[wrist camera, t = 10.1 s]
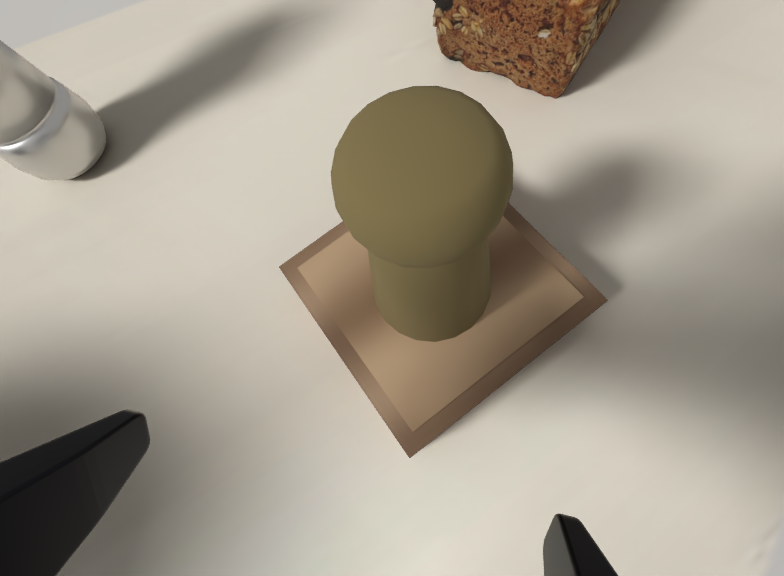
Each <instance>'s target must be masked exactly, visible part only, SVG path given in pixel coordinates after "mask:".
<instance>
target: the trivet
mask: <svg viewBox="0 0 784 576" xmlns="http://www.w3.org/2000/svg"><path fill="white" fill-rule="evenodd" d="M488 241H489V257H490V273H491V288H490V298H489V301H488V303H487V306H486V308H485V311H484V313H483V315H482V316H481V317H480V318H479V319H478V320H477V322H476V323H475V324H474V325H473V326H472V327H471V328H470V329H468V330H467V331H465V332H463V333H462V334H460V335H458V336H457V337H455V338H451V339H446V340H442V341H438V342H430V341H419V340H414V339H412V338H410V337H407V336H405V335H403V334H400V333H398V332H397V331H396V330H395V329H394V328H393V327H391V326H390V325H389V324H388V323H387V322H386V321H385V320H384V318H383V317H382V315H381V313H380V311H379V310H378V308H377V306H376V303H375V298H374V292H373V287H372V279H371V272H370V264H369V256H368V250H367V249H366V248H365V247H364V246H363V245H361V244H360V243H359V242H358V241H356V240H355V239H354V238H353V236H352V235H351V233H350V231H349V230H348V228H347V226H346V225H345V223H344V221H343V222H341V223H340V224H339V225H337V226H336V227H334V228H333V229H331V230H330V231H329V232H327V233H326V234H324V235H323V236H322V237H320V238H319V239H317V240H316V241H315V242H313V243H312V244H310V245H309V246H308V247H306V248H305V249H303V250H302V251H301V252H299V253H298V254H296V255H295V256H293V257H292V258H291V259H289V260H288V261H286V262H285V263H284V264H282V265H281V266H279V268H280V269H281V271H282V272H283V274H284V275H285V277H286V278H287V280H288V281H289V282H290V284H291V285H292V287H293V288H294V290H295V291H296V293H297V294H298V296H299V297H300V299H301V300H302V302H303V303H304V304H305V306H306V307H307V309H308V310H309V312H310V313H311V315H312V316H313V318H314V319H315V321H316V322H317V323H318V325H319V326H320V328H321V329H322V331H323V332H324V334H325V335H326V337H327V338H328V340H329V341H330V342H331V344H332V345H333V347H334V348H335V350H336V351H337V353H338V354H339V356H340V357H341V359H342V360H343V362H344V363H345V364H346V366H347V367H348V369H349V370H350V372H351V373H352V375H353V376H354V378H355V379H356V381H357V382H358V383H359V385H360V386H361V388H362V389H363V391H364V392H365V394H366V395H367V397H368V398H369V400H370V401H371V402H372V404H373V405H374V407H375V408H376V410H377V411H378V413H379V414H380V416H381V417H382V419H383V420H384V422H385V423H386V424H387V426H388V427H389V429H390V430H391V432H392V433H393V435H394V436H395V438H396V439H397V441H398V442H399V443H400V445H401V446H402V448H403V449H404V451H405V452H406V454H407V455H408V457H409V458H411V457H412V456H413V455H414V454H416V453H417V452H418V451H420V450H421V449H422V448H423V447H425V446H426V445H427V444H428V443H430V442H431V441H432V440H433V439H435V438H436V437H437V436H438V435H440V434H441V433H442V432H443V431H445V430H446V429H447V428H448V427H450V426H451V425H452V424H453V423H455V422H456V421H457V420H458V419H460V418H461V417H462V416H463V415H465V414H466V413H467V412H468V411H470V410H471V409H472V408H473V407H475V406H476V405H477V404H478V403H480V402H481V401H482V400H483V399H485V398H486V397H487V396H489V395H490V394H491V393H492V392H494V391H495V390H496V389H497V388H499V387H500V386H501V385H502V384H504V383H505V382H506V381H507V380H509V379H510V378H511V377H512V376H514V375H515V374H516V373H517V372H519V371H520V370H521V369H522V368H524V367H525V366H526V365H527V364H529V363H530V362H531V361H532V360H534V359H535V358H536V357H537V356H539V355H540V354H541V353H542V352H544V351H545V350H546V349H547V348H549V347H550V346H551V345H553V344H554V343H555V342H556V341H558V340H559V339H560V338H561V337H563V336H564V335H565V334H566V333H568V332H569V331H570V330H571V329H573V328H574V327H575V326H576V325H578V324H579V323H580V322H581V321H583V320H584V319H585V318H586V317H588V316H589V315H590V314H591V313H593V312H594V311H595V310H596V309H598V308H599V307H600V306H601V305H603V304H604V303H605V302H606V301H608V300H607V299H606V298H605V297H604V296H603V295H602V294H601V293H600V292H599V291H598V290H597V289H596V288H595V287H594V286H593V285H592V284H591V283H590V282H589V281H588V280H587V279H586V278H585V277H584V276H582V275H581V274H580V273H579V272H578V271H577V270H576V269H575V268H574V267H573V266H572V265H571V264H570V263H569V262H568V261H567V260H566V259H565V258H564V257H563V256H562V255H561V254H560V253H559V252H558V251H557V250H556V249H555V248H554V247H553V246H552V245H551V244H550V243H549V242H548V241H547V240H546V239H545V238H544V237H543V236H542V235H541V234H540V233H538V232H537V231H536V230H535V229H534V228H533V227H532V226H531V225H530V224H529V223H528V222H527V221H526V220H525V219H524V218H523V217H522V216H521V215H520V214H519V213H518V212H517V211H516V210H515V209H514V208H513V207H512V206H511V205H510V204H509V203H508V204H507V206H506V209H505V211H504V214H503V216H502V219H501V221H500V223H499V225H498V226H497V227H496V228H495V229H494V230H493V232H492V233H491V234H490V235H489V236H488Z"/></svg>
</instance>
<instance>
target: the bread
mask: <svg viewBox="0 0 784 576" xmlns="http://www.w3.org/2000/svg"><path fill="white" fill-rule="evenodd" d="M433 1H434V2H435V3H436V5H435V10H434V14H433V26H434V27H437V35H438V44H439V47H440V50H441V53H442V54H444V55H445V56H446V57H447V58H448V59H451V60H459V59H460V62H461V63H462V64H464V65H465V66H466V67H468V68H469V69H471V70H474V71H478V72H482V71H491V72H493V73H495V74H499V75H502V76H504V77H506V78H509V79H511V80H512V81H513V82H514V83H515V84H516V85H518V86H520V87H522V88H526V89H531V90H534V91H536V92H538V93H540V94H542V95H544V96H551V97H553V98H557V97H558V96H560V95H561V94H562V93H563V92H564V90H565V89H566V87H567V86H568V84H569V83H570V82H571V80H572V79H573V77H574V75H575V74H576V72H577V71H578V69H579V67H580V66H581V64H582V62H583V61H584V59H585V58H586V56H587V54H588V52H589V51H590V49H591V47H592V46H593V44H594V43H595V41H596V40H597V39H598V37H599V35H600V34H601V32H602V30H603V29H604V27H605V26H606V24H607V22H608V20H609V19H610V17H611V15H612V13H613V12H614V10H615V8H616V7H617V5H618V3H619V2H620V0H433Z"/></svg>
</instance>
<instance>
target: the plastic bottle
mask: <svg viewBox="0 0 784 576" xmlns="http://www.w3.org/2000/svg"><path fill="white" fill-rule="evenodd" d="M105 145H106V134H105V130H104V126H103V123H102V120H101V119H100V117H99V116H98V115H97V114H96V112H95V111H94V110H93V109H92V108H91V106H90V105H89V104H88V103H87V102H86V101H85V100H84V99H83V98H81V97H80V96H79V95H77V94H76V93H74V92H73V91H72V90H70V89H69V88H67V87H66V86H64V85H63V84H61V83H60V82H58V81H56V80H55V79H53V78H51V77H49V76H47V75H46V74H44V73H43V72H42V71H40V70H39V69H38V68H36V67H35V66H34V65H33V64H31V63H30V62H29V61H27V60H26V59H25V58H23V57H22V56H21V55H19V54H18V53H17V52H15V51H14V50H13V49H11V48H10V47H8V46H7V45H6V44H5V43H3V42H2V41H1V40H0V157H1V158H3V159H4V160H6V161H7V162H8V163H10V164H11V165H12V166H14V167H15V168H17V169H19V170H21V171H23V172H26V173H28V174H31V175H33V176H36V177H38V178H41V179H45V180H68V179H73V178H75V177H78V176H80V175H81V174H83V173H85V172H86V171H88V170H89V169H90V168H91V167H92V166H93V165H94V164H95V163H96V162H97V161H98V159H99V158H100V157H101V155H102V153H103V151H104V148H105Z"/></svg>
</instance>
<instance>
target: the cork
mask: <svg viewBox="0 0 784 576" xmlns="http://www.w3.org/2000/svg"><path fill="white" fill-rule="evenodd" d="M331 181H332V189H333V195H334V200H335V206H336V209H337V211H338V213H339V215H340V216H341V218H342V220H343V221H344V223H345V225H346V226H347V228H348V230H349V231H350V233H351V235H352V236H353V238H354V239H355V240H356V241H358V242H359V243H360V244H361V245H363V246H364V247H365V248H366V249H367V250H368V256H369V264H370V272H371V279H372V287H373V292H374V298H375V303H376V306H377V308H378V310H379V311H380V313H381V315H382V317H383V318H384V320H385V321H386V322H387V323H388V324H389V325H390V326H391V327H393V328H394V329H395V330H396V331H397V332H398V333H400V334H403V335H405V336H407V337H410V338H412V339H414V340H419V341H430V342H438V341H442V340H446V339H451V338H455V337H457V336H458V335H460V334H462V333H463V332H465V331H467V330H468V329H470V328H471V327H472V326H473V325H474V324H475V323H476V322H477V320H478V319H479V318H480V317H481V316H482V315H483V313H484V311H485V308H486V306H487V303H488V301H489V298H490V288H491V273H490V257H489V241H488V236H489V235H490V234H491V233H492V232H493V230H494V229H495V228H496V227H497V226H498V225H499V223H500V221H501V219H502V216H503V214H504V211H505V209H506V206H507V204H508V202H509V199H510V196H511V193H512V190H513V159H512V152H511V149H510V146H509V144H508V141H507V139H506V136H505V133H504V131H503V129H502V127H501V126H500V125H499V124H498V123H497V122H496V120H495V119H494V118H493V117H492V116H491V115H490V114H489V112H488V111H487V110H486V109H485V108H484V107H483V106H482V104H481V103H479V102H477V101H475V100H474V99H472V98H470V97H469V96H467V95H465V94H464V93H462V92H459V91H455V90H451V89H447V88H443V87H439V86H412V87H409V88H405V89H401V90H397V91H393V92H389V93H387V94H386V95H384V96H382V97H380V98H378V99H377V100H375V101H373V102H371V103H369V104H368V105H367V106H366V107H365V108H363V109H362V110H361V111H360V112H359V113H358V114H357V115H356V116H355V117H354V118H353V119H352V120H351V122H350V123H349V125H348V127H347V129H346V130H345V132H344V134H343V136H342V138H341V139H340V141H339V143H338V145H337V147H336V149H335V154H334V159H333V165H332V170H331Z"/></svg>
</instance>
